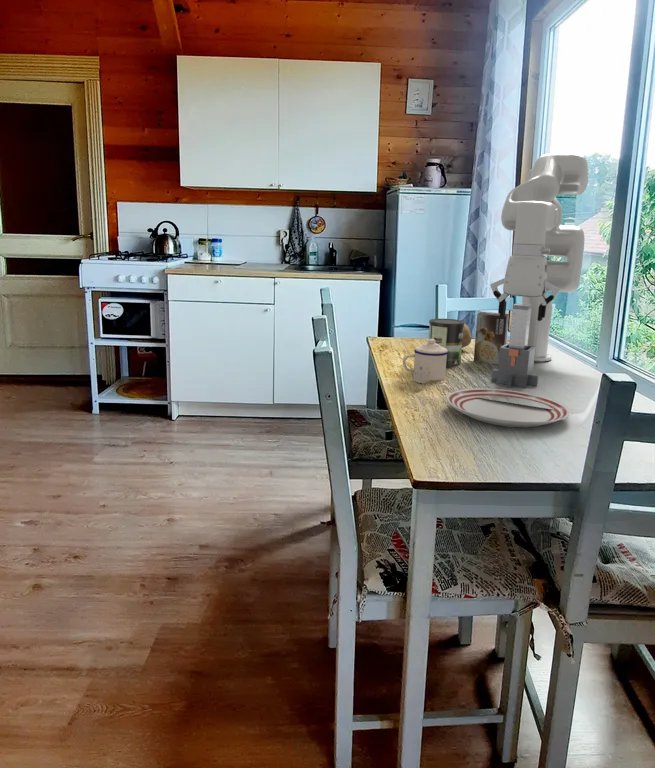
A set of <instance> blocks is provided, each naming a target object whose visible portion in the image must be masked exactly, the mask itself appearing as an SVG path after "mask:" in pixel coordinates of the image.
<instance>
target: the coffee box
mask: <svg viewBox="0 0 655 768" xmlns="http://www.w3.org/2000/svg"><path fill="white" fill-rule="evenodd" d="M509 318H510V314H509V313H505V316H504V317H500V314H499V313H498V312H488V311H479V312H477V314H476V324H475V336H474V337H475V339H474V351H473V362H476V363H480V364H482V363H483V364H491V365H497V366H498V363H499V353H500V347H502V346H503V345H505V344H506V343H507V342H508V341H507V340H508V328H509Z"/></svg>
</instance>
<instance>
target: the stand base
mask: <svg viewBox="0 0 655 768" xmlns="http://www.w3.org/2000/svg"><path fill="white" fill-rule="evenodd" d="M534 355H535V346H527V350H520V349H512V348H509V342H506V344H505V345H503V346H502V347H500V353H499V363H498V365H497V369H492V371H491V381H495V382H496V385H501V386H506V388H507V389H512V388H513V387H514V388H515V387H516V388H519V389H527V388H528V386H529V387H537V388H538V383H539V375H537V374H533V372H534V363H535V361H534Z"/></svg>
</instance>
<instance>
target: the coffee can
mask: <svg viewBox="0 0 655 768" xmlns="http://www.w3.org/2000/svg"><path fill="white" fill-rule="evenodd" d="M464 323H465V321H464V320H460V319H455V318H432V319H429V327H428V340H429V339H434V340H435V343H436V344H439V345H440V346H441V347H444V348H446V349H447V351H448V354H447V359H446V371H448V370H450V369H451V368H453V367H457V366H460V365H461V364H462V363H461V362H462V350H463V348H462V341H463V328H464Z"/></svg>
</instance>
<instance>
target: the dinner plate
mask: <svg viewBox="0 0 655 768" xmlns="http://www.w3.org/2000/svg"><path fill="white" fill-rule="evenodd" d="M482 397H505V398H506V397H507V398H515V399H523V400H526V401H527V400H528V401H532V402H536V403H540V404H542V405H545V406H547V407H549V408H546V407H539V406H533V405H527V404H520V403H513V402H508V401H501V400H494V399H489V398H482ZM445 399H446V402H447V403H448V405H450V406H451V407H452V408H453V409H455V410H457V411H458V412H460V413H462V414H463V415H466V416H468V417H470V418H472V419H474V420H476V421H480V422H483V423H486V424H489V425H494V426H500V427H511V428H532V426H534V427H538V425H539V426H544V425H548V424H552V423H556V422H559V421H562V420H564V419H565V420H566V419H567V418H568V417H569V416H570V410H569V408H568V407H566V406H565V405H564V404H562V403H560V402H558V401H555V400H554V399H551V398H547V397H544V396H541V395H537V394H532V393H528V392H523V391H516V390H509V389H501V388H499V389H498V388H466V389H460V390H459V389H458V390H455V391H453V392H450V393H449V394H447V395H446V398H445Z"/></svg>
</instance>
